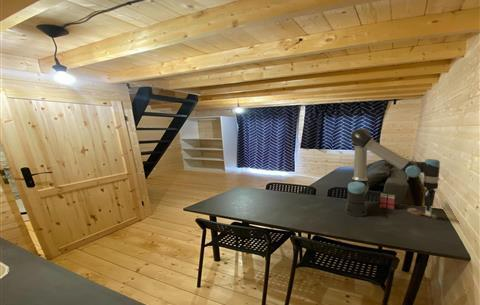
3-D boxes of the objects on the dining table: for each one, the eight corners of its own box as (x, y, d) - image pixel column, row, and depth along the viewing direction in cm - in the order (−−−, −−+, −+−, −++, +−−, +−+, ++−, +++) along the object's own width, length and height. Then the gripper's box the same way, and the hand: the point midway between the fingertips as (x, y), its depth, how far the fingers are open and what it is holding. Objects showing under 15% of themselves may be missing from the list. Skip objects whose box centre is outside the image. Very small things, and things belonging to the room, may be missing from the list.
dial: (404, 212, 156) (405, 204, 155) (410, 209, 160) (411, 201, 160) (428, 219, 144) (428, 210, 143) (433, 216, 148) (434, 207, 148)
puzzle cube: (394, 211, 162) (395, 199, 161) (379, 208, 168) (379, 196, 167) (394, 206, 170) (395, 195, 169) (379, 204, 176) (380, 193, 175)
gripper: (434, 184, 136) (431, 219, 139) (441, 181, 142) (438, 214, 145) (419, 182, 142) (417, 215, 145) (427, 179, 149) (424, 210, 152)
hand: (428, 214), depth 145 cm, fingers closed
